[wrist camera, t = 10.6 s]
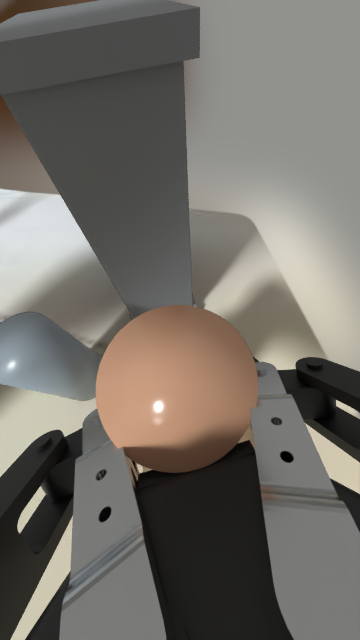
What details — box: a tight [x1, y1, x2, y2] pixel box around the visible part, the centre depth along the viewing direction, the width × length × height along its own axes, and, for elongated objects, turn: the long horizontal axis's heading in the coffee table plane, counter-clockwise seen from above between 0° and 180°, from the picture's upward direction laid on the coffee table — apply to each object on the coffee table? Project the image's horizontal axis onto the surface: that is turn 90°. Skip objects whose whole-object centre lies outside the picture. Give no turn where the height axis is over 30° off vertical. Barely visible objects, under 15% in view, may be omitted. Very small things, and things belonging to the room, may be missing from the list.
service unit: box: [0, 0, 200, 321], centre depth 19 cm, size 8×14×20 cm, turn 15°
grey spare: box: [0, 312, 102, 401], centre depth 17 cm, size 5×5×10 cm
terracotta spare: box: [96, 305, 258, 473], centre depth 10 cm, size 5×5×10 cm
